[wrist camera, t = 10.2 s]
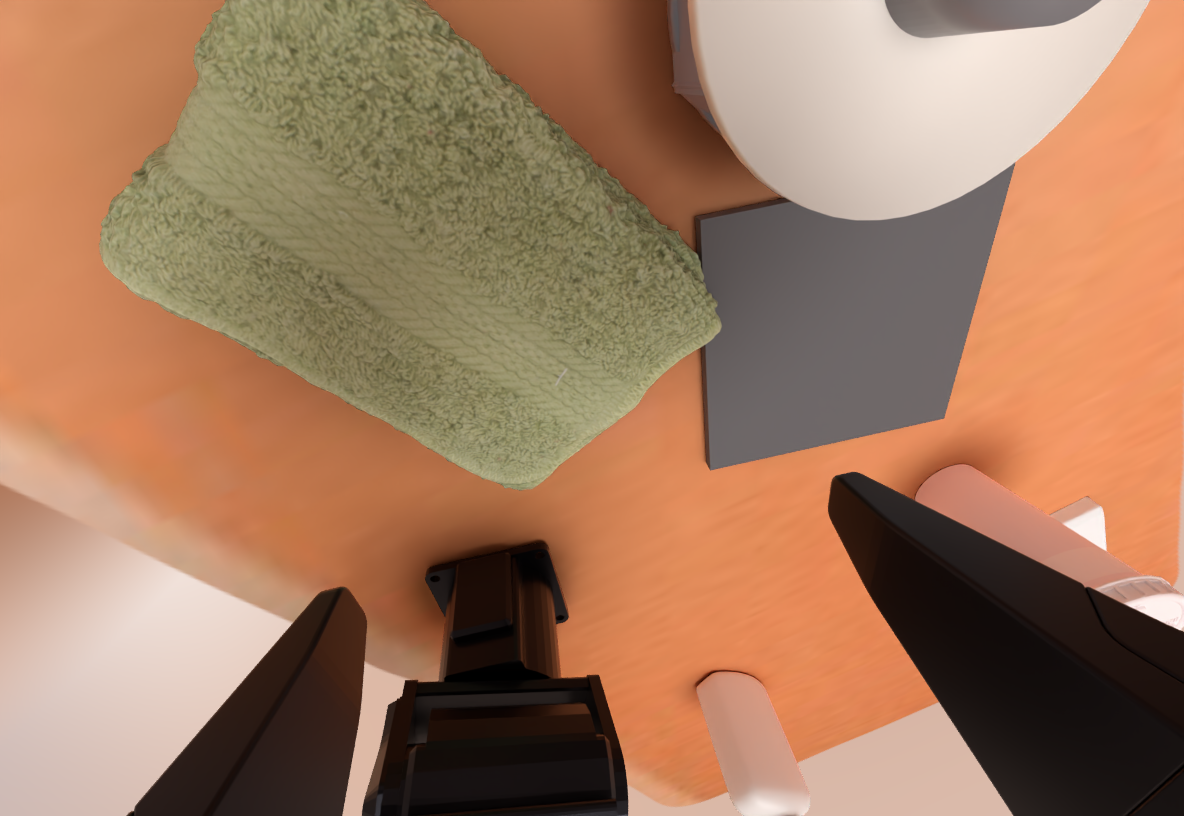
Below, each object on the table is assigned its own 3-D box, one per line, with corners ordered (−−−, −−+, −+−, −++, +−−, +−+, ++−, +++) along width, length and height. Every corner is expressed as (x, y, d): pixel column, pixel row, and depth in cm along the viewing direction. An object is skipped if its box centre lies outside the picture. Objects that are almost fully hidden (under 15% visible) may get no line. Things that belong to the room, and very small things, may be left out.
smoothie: (924, 543, 32) (1168, 812, 20) (871, 502, 29) (1119, 787, 17) (1018, 476, 30) (1354, 734, 18) (971, 425, 27) (1332, 691, 15)
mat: (935, 411, 26) (943, 418, 25) (706, 462, 25) (710, 470, 25) (1004, 153, 19) (1017, 154, 19) (695, 216, 19) (700, 220, 18)
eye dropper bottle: (714, 710, 39) (786, 923, 30) (689, 679, 36) (758, 905, 26) (767, 689, 39) (857, 899, 29) (745, 656, 36) (838, 878, 26)
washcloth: (529, 483, 25) (531, 531, 22) (117, 248, 17) (44, 279, 14) (729, 284, 21) (762, 314, 18) (309, -148, 13) (258, -208, 10)
